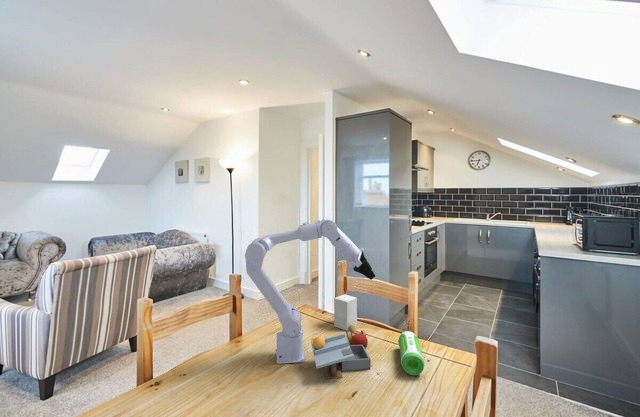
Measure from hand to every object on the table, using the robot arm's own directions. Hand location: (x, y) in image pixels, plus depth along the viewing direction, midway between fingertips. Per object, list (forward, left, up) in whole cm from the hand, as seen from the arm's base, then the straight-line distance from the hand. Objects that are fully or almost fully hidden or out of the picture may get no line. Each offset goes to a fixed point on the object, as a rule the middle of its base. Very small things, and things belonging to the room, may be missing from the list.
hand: (371, 274), depth 105 cm
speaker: (+12, -6, -30) cm, 33 cm away
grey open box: (-7, -4, -29) cm, 30 cm away
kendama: (-3, +10, -30) cm, 31 cm away
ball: (-19, -4, -22) cm, 29 cm away
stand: (-15, -7, -29) cm, 34 cm away
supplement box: (-4, +24, -29) cm, 38 cm away
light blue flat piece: (-15, -7, -23) cm, 29 cm away
